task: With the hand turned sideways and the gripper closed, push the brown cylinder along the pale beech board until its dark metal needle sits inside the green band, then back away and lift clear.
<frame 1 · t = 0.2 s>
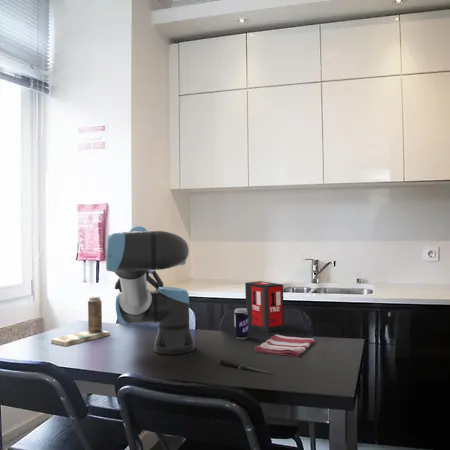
hand: (139, 299, 200), 15 cm above the table, tool tilted 35°, fingers open, 13 cm apart
beverage can: (241, 338, 189), on the table
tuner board: (81, 338, 193), on the table
brown cylinder: (96, 314, 198), point 9 cm above the table, slide at 0.0 cm
dish towel: (286, 348, 174), on the table
knife: (253, 372, 146), on the table
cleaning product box: (264, 327, 209), on the table
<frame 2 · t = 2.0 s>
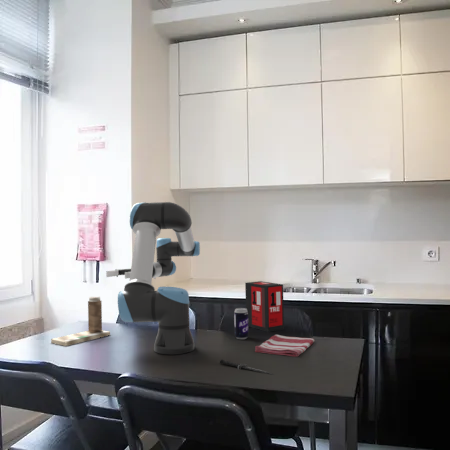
hand: (115, 274, 209), 25 cm above the table, tool horizontal, fingers open, 12 cm apart
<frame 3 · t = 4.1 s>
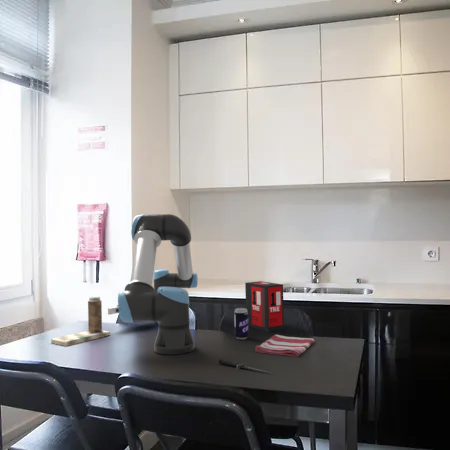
hand: (109, 311, 205), 9 cm above the table, tool horizontal, fingers closed
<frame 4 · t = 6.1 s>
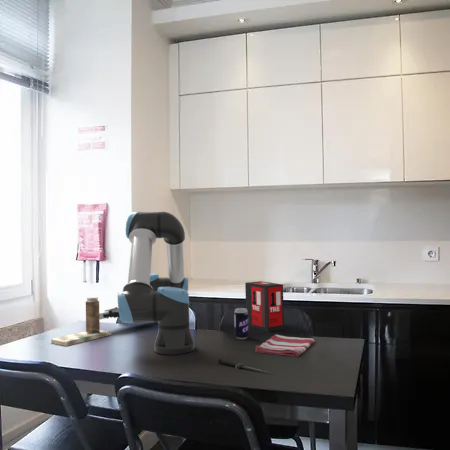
hand: (96, 316, 200), 8 cm above the table, tool horizontal, fingers closed
brown cylinder: (94, 315, 197), point 9 cm above the table, slide at 1.2 cm, touching gripper
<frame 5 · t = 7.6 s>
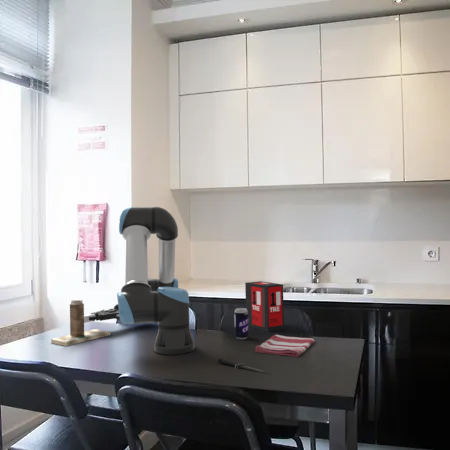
hand: (81, 319, 194), 8 cm above the table, tool horizontal, fingers closed
brown cylinder: (79, 318, 191), point 9 cm above the table, slide at 9.1 cm
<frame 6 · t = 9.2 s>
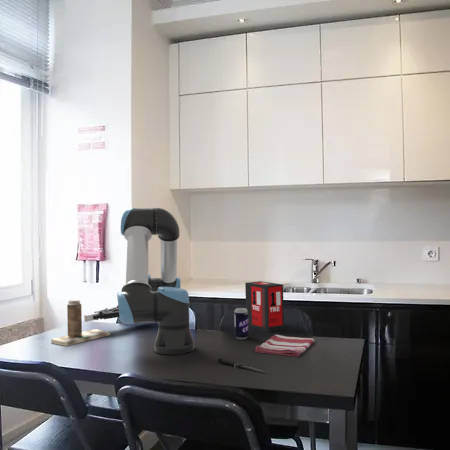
hand: (85, 318, 195), 8 cm above the table, tool horizontal, fingers closed
brown cylinder: (76, 318, 190), point 9 cm above the table, slide at 10.3 cm
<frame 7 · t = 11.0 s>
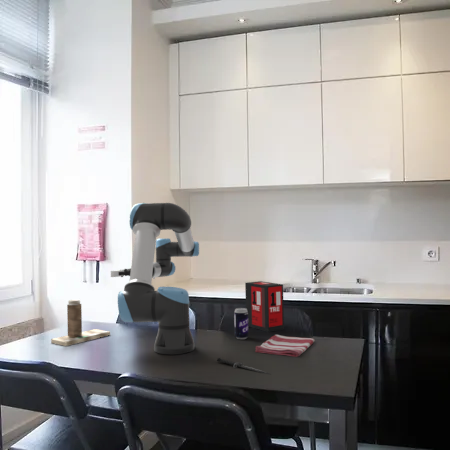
hand: (111, 274, 207), 26 cm above the table, tool horizontal, fingers closed
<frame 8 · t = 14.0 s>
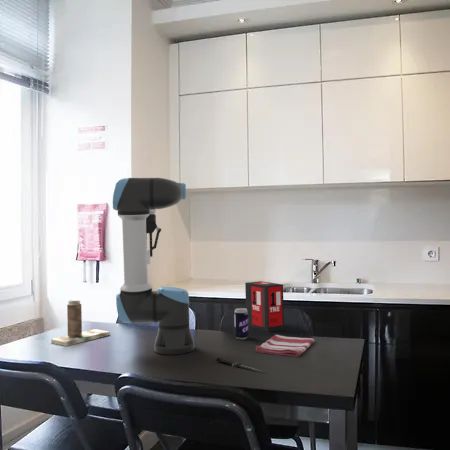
hand: (148, 263, 216), 29 cm above the table, tool pointing down, fingers closed
at the end: brown cylinder slide at 10.3 cm; the gripper is holding nothing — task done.
